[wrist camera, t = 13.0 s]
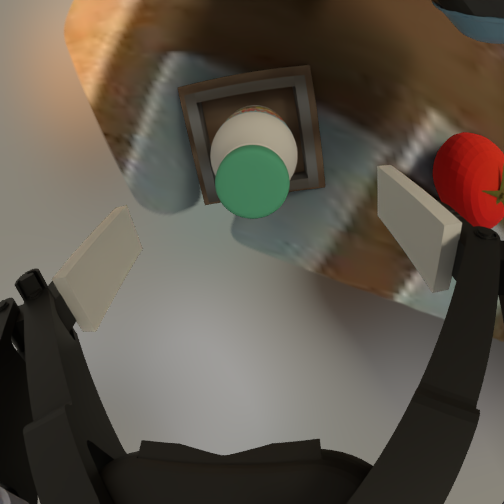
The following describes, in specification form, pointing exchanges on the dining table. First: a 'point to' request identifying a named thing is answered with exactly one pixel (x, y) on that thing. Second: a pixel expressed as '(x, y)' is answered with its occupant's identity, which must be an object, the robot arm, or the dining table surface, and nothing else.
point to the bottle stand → (263, 94)
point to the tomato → (471, 178)
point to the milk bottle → (253, 161)
